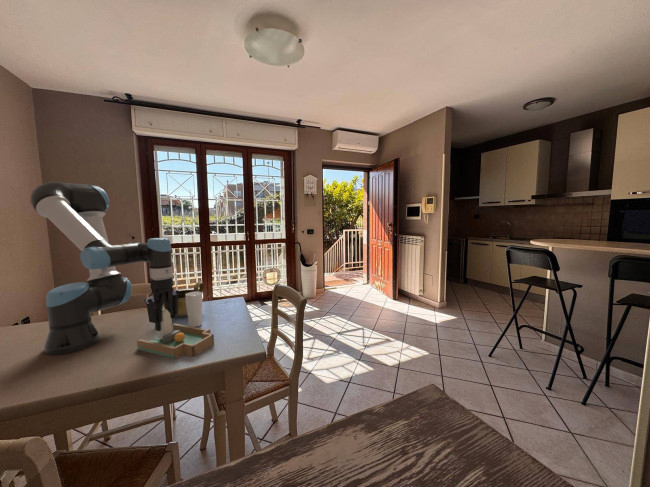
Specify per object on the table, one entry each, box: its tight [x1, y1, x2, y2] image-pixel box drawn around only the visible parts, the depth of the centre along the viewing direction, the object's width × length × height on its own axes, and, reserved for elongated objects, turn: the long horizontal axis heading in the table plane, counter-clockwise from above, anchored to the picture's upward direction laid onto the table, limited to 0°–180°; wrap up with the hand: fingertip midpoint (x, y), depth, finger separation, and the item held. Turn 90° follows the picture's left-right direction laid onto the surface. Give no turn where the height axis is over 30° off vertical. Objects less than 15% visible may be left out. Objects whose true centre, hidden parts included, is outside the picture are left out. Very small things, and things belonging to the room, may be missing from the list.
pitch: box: [136, 323, 215, 360], centre depth 100 cm, size 24×16×4 cm, turn 70°
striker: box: [159, 308, 180, 343], centre depth 102 cm, size 6×6×12 cm
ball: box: [174, 333, 185, 342], centre depth 100 cm, size 4×4×4 cm
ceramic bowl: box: [163, 281, 206, 318], centre depth 130 cm, size 22×17×15 cm
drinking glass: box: [185, 292, 203, 328], centre depth 118 cm, size 7×7×15 cm
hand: (165, 335), depth 103 cm, fingers closed on striker, 3 cm apart
